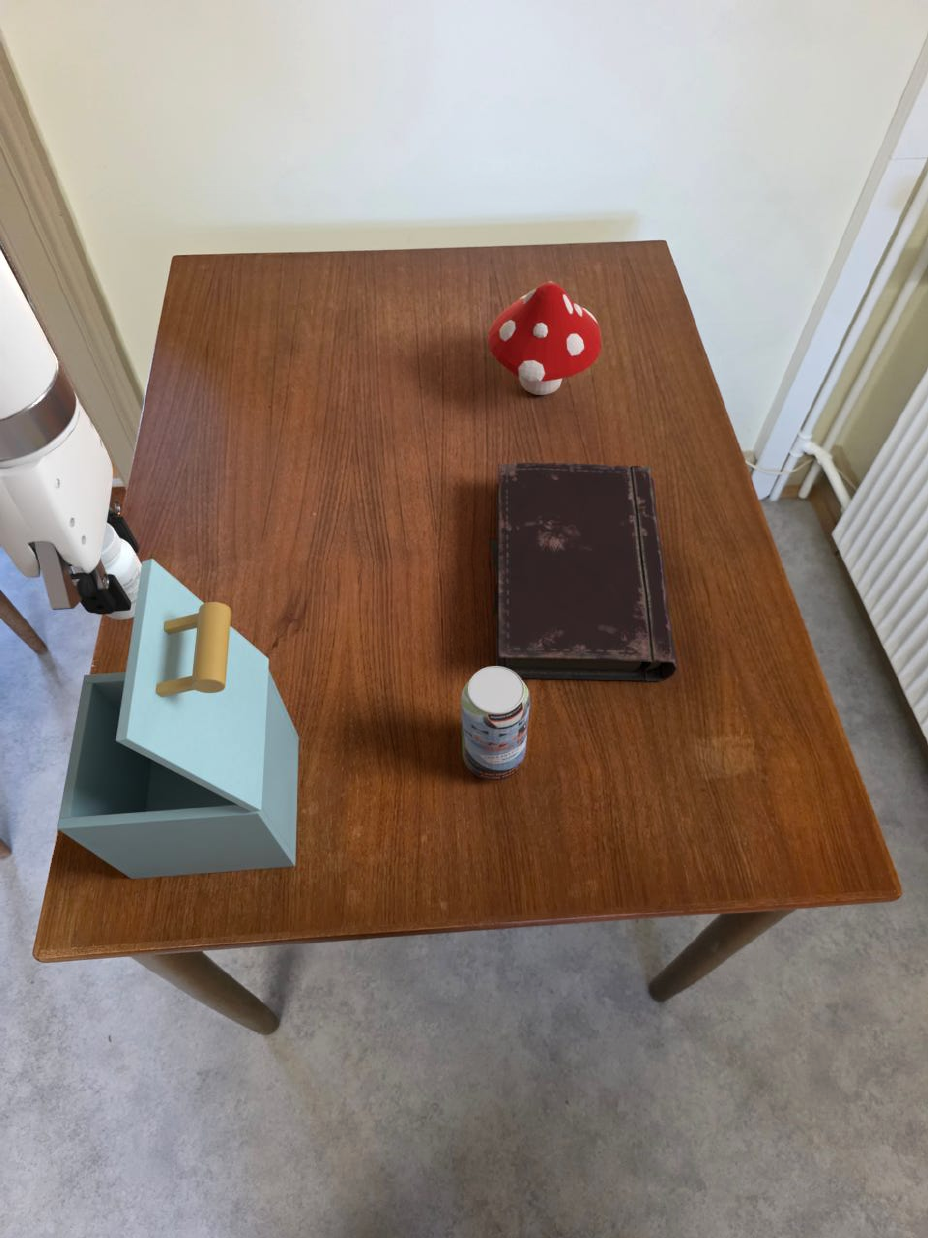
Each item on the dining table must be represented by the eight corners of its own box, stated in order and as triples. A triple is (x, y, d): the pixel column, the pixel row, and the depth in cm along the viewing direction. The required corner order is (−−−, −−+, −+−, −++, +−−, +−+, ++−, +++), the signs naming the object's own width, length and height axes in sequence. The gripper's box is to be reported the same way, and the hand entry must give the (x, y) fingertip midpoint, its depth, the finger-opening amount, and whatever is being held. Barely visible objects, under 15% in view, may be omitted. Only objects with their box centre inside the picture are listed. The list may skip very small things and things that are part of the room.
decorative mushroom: (564, 336, 109) (577, 234, 97) (615, 404, 103) (637, 304, 90) (469, 366, 106) (470, 265, 94) (515, 438, 100) (524, 339, 87)
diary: (647, 492, 96) (656, 463, 91) (670, 683, 83) (682, 660, 79) (489, 489, 96) (491, 460, 92) (488, 679, 83) (490, 656, 79)
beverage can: (471, 793, 77) (473, 745, 67) (451, 723, 81) (450, 668, 70) (534, 776, 78) (546, 726, 68) (512, 708, 81) (519, 651, 71)
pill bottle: (95, 582, 65) (55, 522, 58) (151, 568, 66) (118, 508, 59) (101, 627, 63) (60, 570, 56) (159, 612, 64) (125, 555, 57)
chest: (131, 879, 73) (56, 828, 59) (148, 747, 79) (83, 674, 66) (295, 866, 73) (258, 813, 60) (298, 737, 80) (265, 662, 66)
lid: (115, 741, 47) (196, 723, 46) (142, 561, 53) (213, 541, 52) (251, 812, 60) (317, 800, 58) (260, 660, 66) (320, 647, 65)
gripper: (-34, 308, 51) (80, 497, 66) (-104, 523, 42) (46, 682, 57) (90, 302, 51) (174, 491, 67) (45, 513, 42) (154, 674, 58)
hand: (114, 578), depth 62 cm, fingers closed on pill bottle, 4 cm apart
